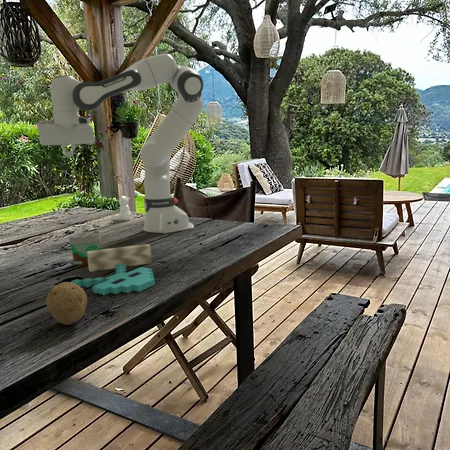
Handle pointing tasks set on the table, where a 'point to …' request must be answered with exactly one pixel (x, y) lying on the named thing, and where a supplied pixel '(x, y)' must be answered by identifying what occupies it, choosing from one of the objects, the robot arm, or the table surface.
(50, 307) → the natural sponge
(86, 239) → the food container
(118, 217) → the sitting furry creature
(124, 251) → the birch board
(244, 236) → the table surface
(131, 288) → the alien figure
